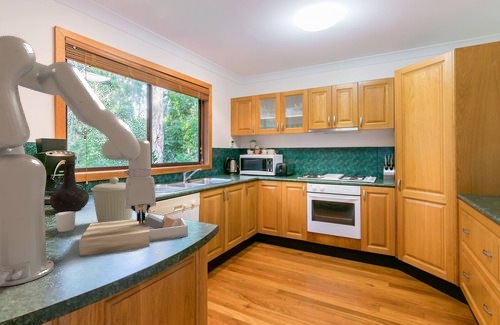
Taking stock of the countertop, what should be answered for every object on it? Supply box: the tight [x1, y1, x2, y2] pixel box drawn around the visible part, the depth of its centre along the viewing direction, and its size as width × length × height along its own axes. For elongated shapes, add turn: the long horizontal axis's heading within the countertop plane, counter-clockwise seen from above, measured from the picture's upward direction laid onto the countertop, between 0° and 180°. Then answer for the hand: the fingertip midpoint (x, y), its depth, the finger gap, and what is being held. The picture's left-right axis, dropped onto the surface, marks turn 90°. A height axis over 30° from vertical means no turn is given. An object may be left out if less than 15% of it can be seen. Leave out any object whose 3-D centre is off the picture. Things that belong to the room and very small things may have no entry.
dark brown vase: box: [49, 160, 90, 213], centre depth 140 cm, size 18×18×28 cm
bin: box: [149, 217, 189, 242], centre depth 100 cm, size 14×14×4 cm
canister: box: [90, 176, 134, 223], centre depth 114 cm, size 18×18×21 cm
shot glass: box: [55, 211, 77, 233], centre depth 105 cm, size 7×7×7 cm
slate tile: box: [144, 213, 164, 229], centre depth 96 cm, size 6×6×3 cm
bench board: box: [78, 218, 150, 257], centre depth 91 cm, size 20×20×5 cm
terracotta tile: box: [162, 213, 175, 228], centre depth 98 cm, size 6×6×3 cm
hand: (141, 222), depth 94 cm, fingers closed
